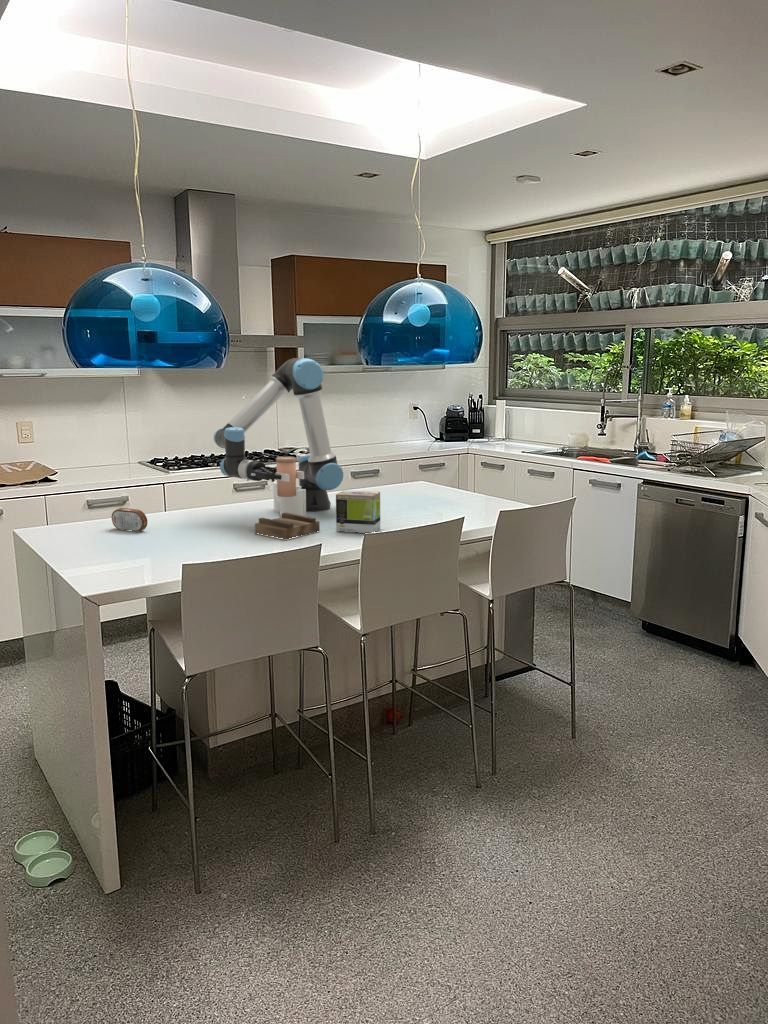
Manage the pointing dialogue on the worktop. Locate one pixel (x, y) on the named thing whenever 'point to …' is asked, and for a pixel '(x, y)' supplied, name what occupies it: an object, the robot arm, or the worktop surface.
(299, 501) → the bracket
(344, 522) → the tea box
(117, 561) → the worktop surface
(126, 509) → the tin
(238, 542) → the worktop surface
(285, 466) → the terracotta canister
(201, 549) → the worktop surface
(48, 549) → the worktop surface
